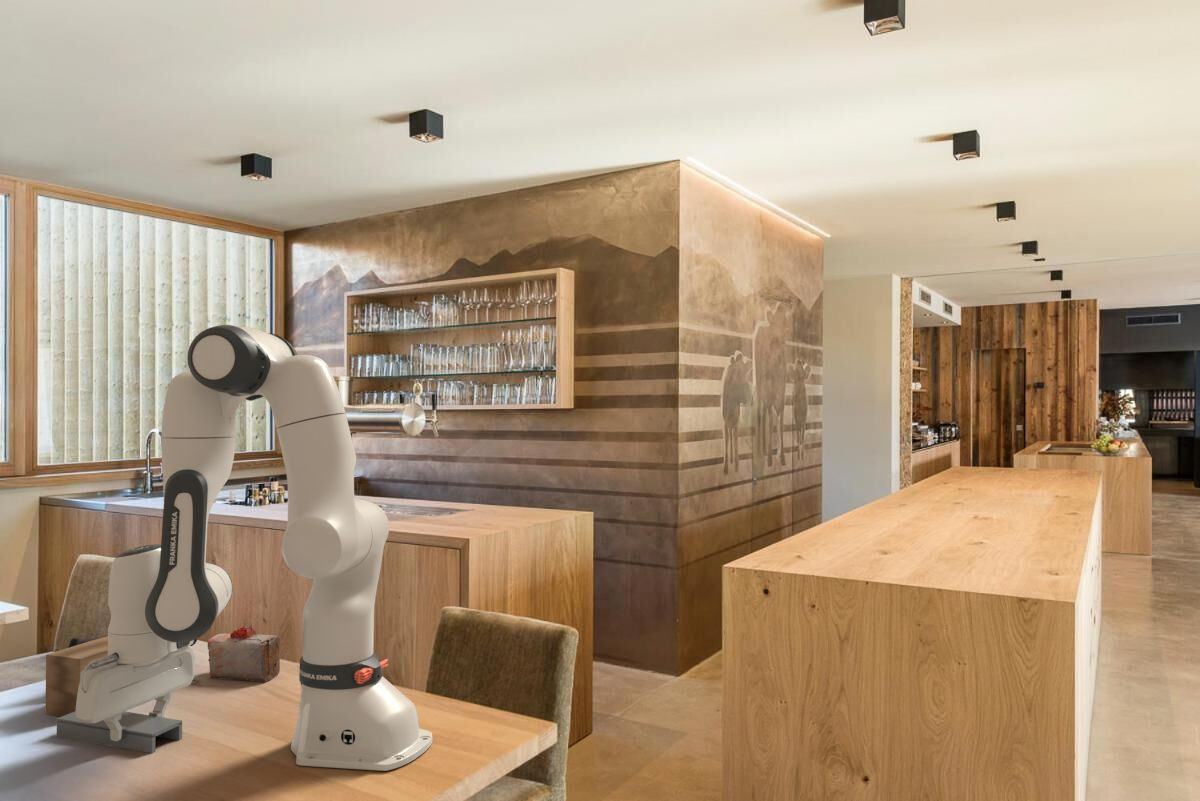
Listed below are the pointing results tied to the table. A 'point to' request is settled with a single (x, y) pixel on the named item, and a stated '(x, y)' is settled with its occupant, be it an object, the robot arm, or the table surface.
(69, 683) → the wooden arch
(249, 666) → the food item
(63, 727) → the grey channel riser
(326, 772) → the table surface
